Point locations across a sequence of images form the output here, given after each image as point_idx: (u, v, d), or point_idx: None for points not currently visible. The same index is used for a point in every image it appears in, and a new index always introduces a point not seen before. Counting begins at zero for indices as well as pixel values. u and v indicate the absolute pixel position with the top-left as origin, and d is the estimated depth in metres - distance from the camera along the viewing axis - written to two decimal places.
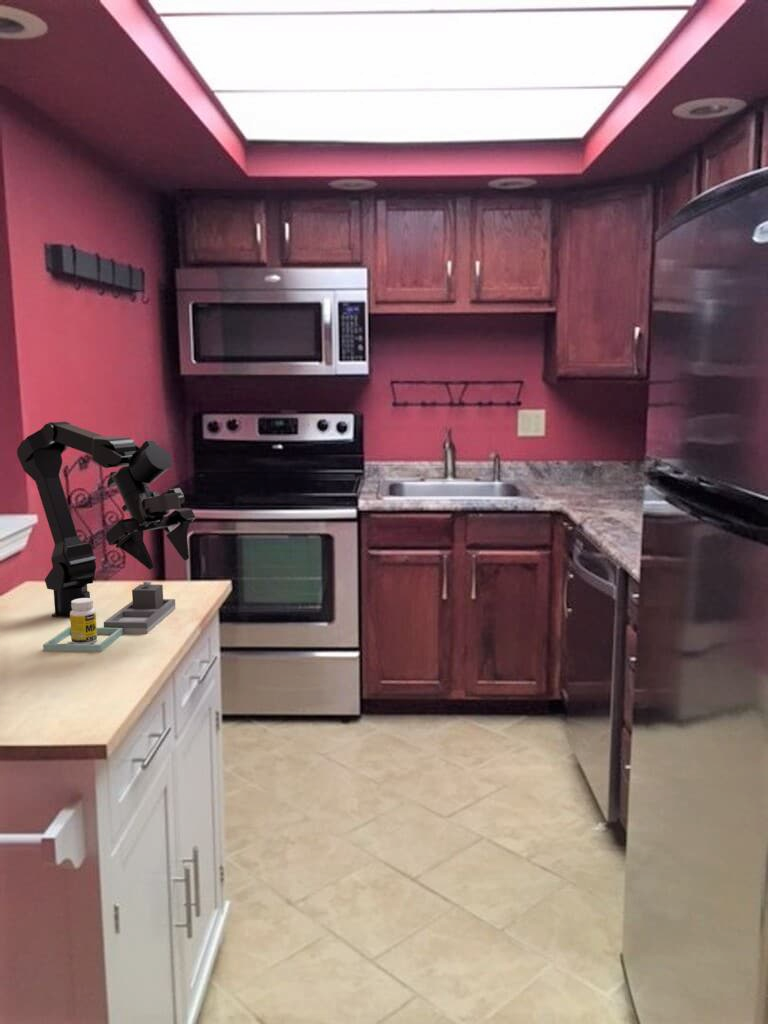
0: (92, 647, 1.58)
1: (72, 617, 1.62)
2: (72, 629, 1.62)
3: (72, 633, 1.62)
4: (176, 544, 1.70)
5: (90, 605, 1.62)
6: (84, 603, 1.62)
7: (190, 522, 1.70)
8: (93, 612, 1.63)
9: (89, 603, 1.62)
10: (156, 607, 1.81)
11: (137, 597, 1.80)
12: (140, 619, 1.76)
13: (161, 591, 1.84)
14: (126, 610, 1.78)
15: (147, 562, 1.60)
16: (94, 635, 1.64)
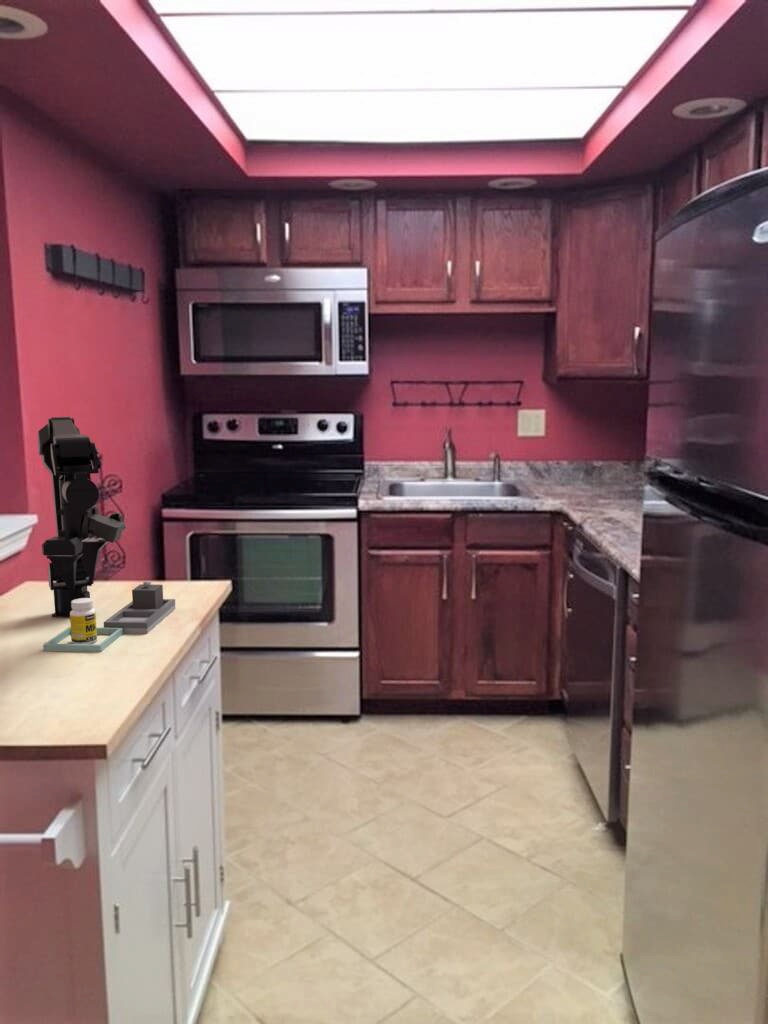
0: (92, 647, 1.58)
1: (72, 617, 1.62)
2: (72, 629, 1.62)
3: (72, 633, 1.62)
4: (85, 557, 1.67)
5: (90, 605, 1.62)
6: (84, 603, 1.62)
7: (108, 541, 1.68)
8: (93, 612, 1.63)
9: (89, 603, 1.62)
10: (156, 607, 1.81)
11: (137, 597, 1.80)
12: (140, 619, 1.76)
13: (161, 591, 1.84)
14: (126, 610, 1.78)
15: (71, 582, 1.57)
16: (94, 635, 1.64)
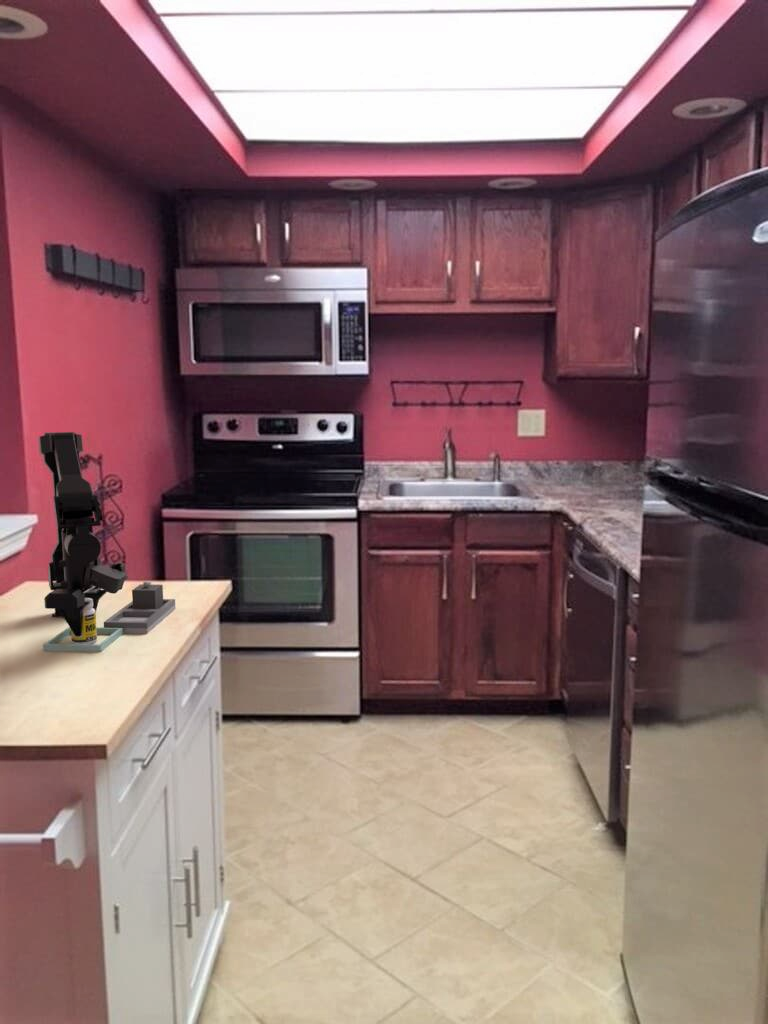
0: (92, 647, 1.58)
1: None
2: None
3: (72, 633, 1.62)
4: None
5: (90, 605, 1.62)
6: None
7: (106, 592, 1.68)
8: (93, 612, 1.63)
9: (89, 603, 1.62)
10: (156, 607, 1.81)
11: (137, 597, 1.80)
12: (140, 619, 1.76)
13: (161, 591, 1.84)
14: (126, 610, 1.78)
15: (78, 630, 1.61)
16: (94, 635, 1.64)
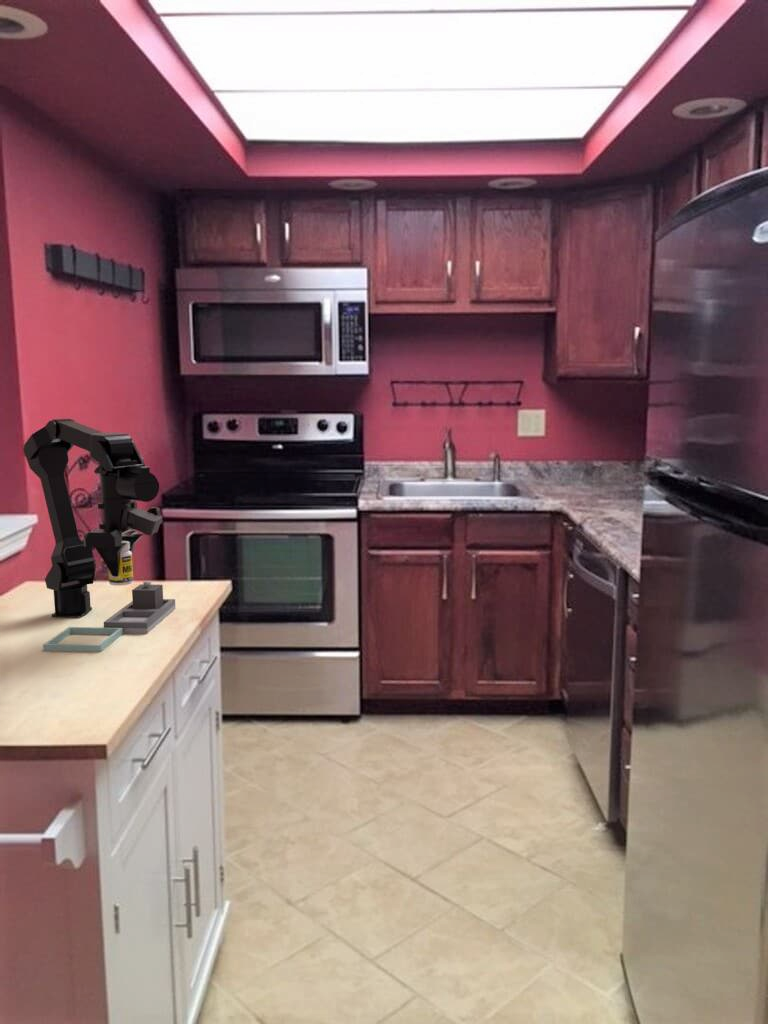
0: (92, 647, 1.58)
1: None
2: None
3: (109, 574, 1.69)
4: None
5: (127, 547, 1.69)
6: None
7: (142, 536, 1.74)
8: (130, 554, 1.69)
9: (126, 545, 1.68)
10: (156, 607, 1.81)
11: (137, 597, 1.80)
12: (140, 619, 1.76)
13: (161, 591, 1.84)
14: (126, 610, 1.78)
15: (115, 570, 1.67)
16: (130, 576, 1.70)
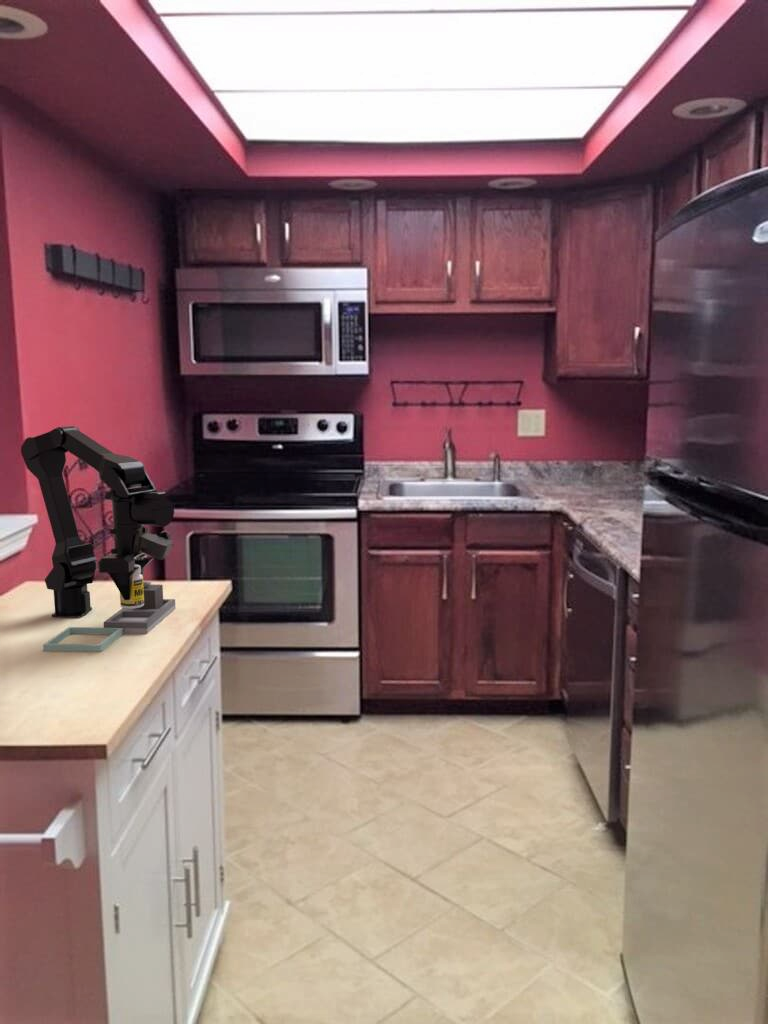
0: (92, 647, 1.58)
1: None
2: None
3: (121, 597, 1.72)
4: None
5: (138, 571, 1.72)
6: None
7: (151, 559, 1.77)
8: (141, 578, 1.72)
9: None
10: (156, 607, 1.81)
11: None
12: (140, 619, 1.76)
13: (161, 591, 1.84)
14: (126, 610, 1.78)
15: (127, 594, 1.70)
16: (142, 599, 1.73)
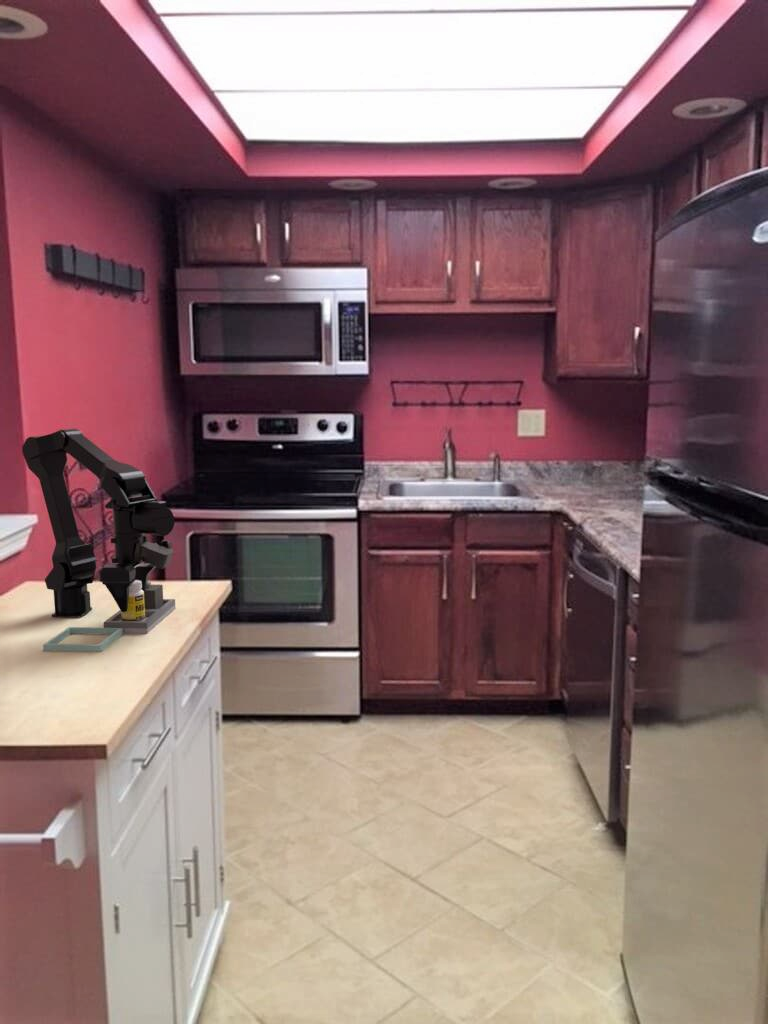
0: (92, 647, 1.58)
1: None
2: None
3: (122, 613, 1.72)
4: None
5: (139, 586, 1.72)
6: (134, 584, 1.71)
7: (155, 566, 1.79)
8: (142, 593, 1.73)
9: (138, 584, 1.72)
10: (156, 607, 1.81)
11: None
12: None
13: (161, 591, 1.84)
14: None
15: (124, 606, 1.68)
16: (143, 614, 1.73)
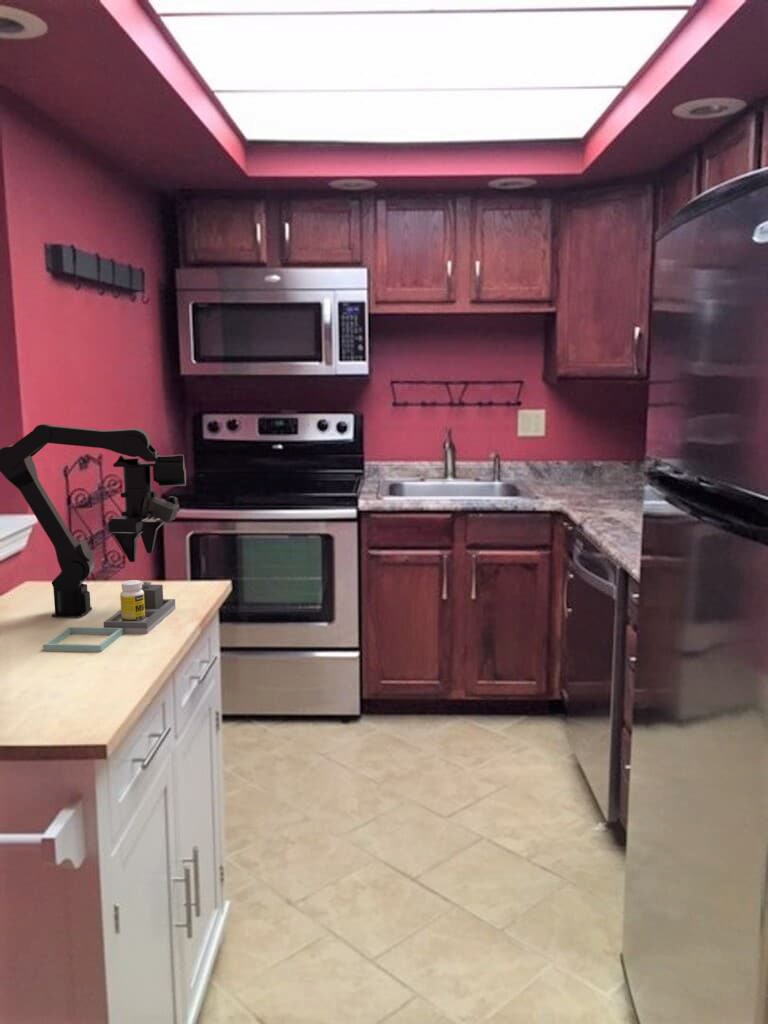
0: (92, 647, 1.58)
1: (122, 598, 1.72)
2: (122, 609, 1.72)
3: (122, 613, 1.72)
4: (144, 536, 1.89)
5: (139, 586, 1.72)
6: (134, 584, 1.71)
7: (164, 522, 1.90)
8: (142, 593, 1.73)
9: (138, 584, 1.72)
10: (156, 607, 1.81)
11: None
12: None
13: (161, 591, 1.84)
14: None
15: (132, 556, 1.79)
16: (143, 614, 1.73)
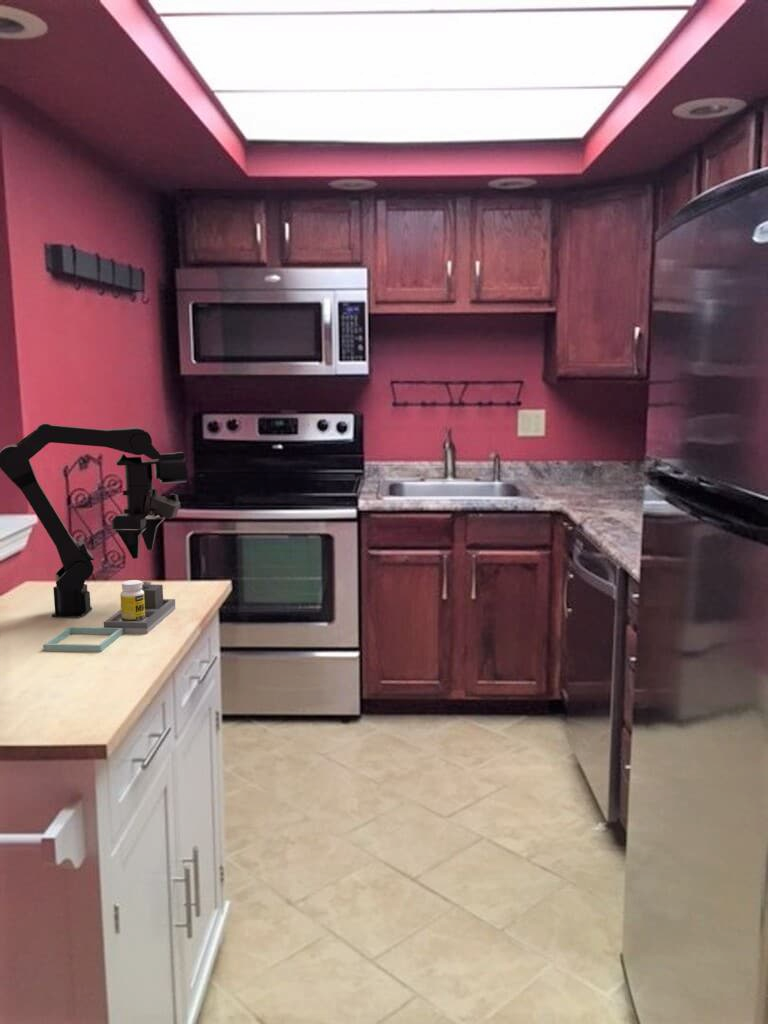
0: (92, 647, 1.58)
1: (122, 597, 1.72)
2: (123, 609, 1.72)
3: (123, 613, 1.72)
4: (145, 533, 1.92)
5: (139, 586, 1.72)
6: (134, 584, 1.71)
7: None
8: (142, 593, 1.73)
9: (139, 584, 1.72)
10: (156, 607, 1.81)
11: None
12: None
13: (161, 591, 1.84)
14: None
15: (135, 553, 1.82)
16: (143, 614, 1.73)
